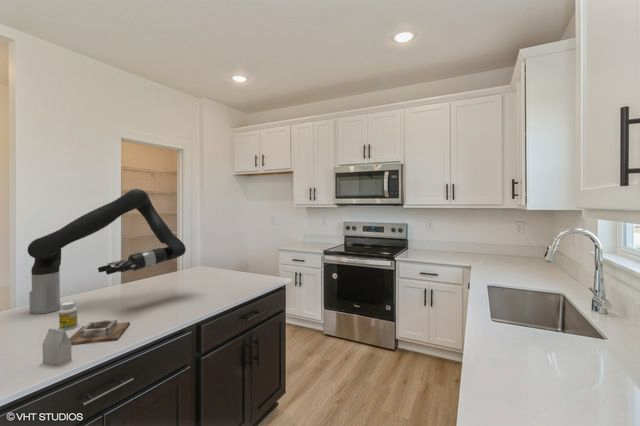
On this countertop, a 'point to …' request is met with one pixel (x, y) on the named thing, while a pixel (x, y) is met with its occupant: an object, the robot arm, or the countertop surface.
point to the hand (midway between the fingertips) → (102, 271)
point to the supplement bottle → (68, 316)
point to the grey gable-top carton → (56, 347)
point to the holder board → (99, 332)
